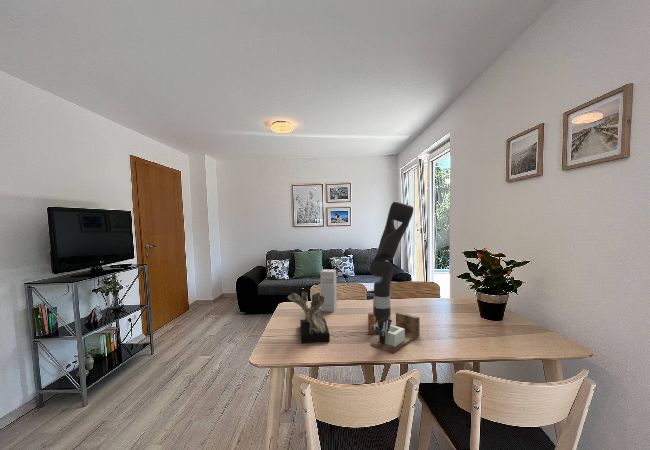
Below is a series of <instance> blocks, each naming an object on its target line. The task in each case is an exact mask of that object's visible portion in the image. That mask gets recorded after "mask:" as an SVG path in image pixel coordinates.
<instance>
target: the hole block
mask: <svg viewBox="0 0 650 450" xmlns="http://www.w3.org/2000/svg"><path fill="white" fill-rule="evenodd" d="M377 339H378V341H379V335H377ZM404 340H405V329H404V328H401V327H397V326H396V325H395V324H394V325H393V324H391V325H390V328H389V331H388V332H386V335H385V344H388V345H391V346H394V347H396V346H397V345H399V344H400V343H402V342H403V341H404Z"/></svg>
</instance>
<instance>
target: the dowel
mask: <svg viewBox="0 0 650 450" xmlns="http://www.w3.org/2000/svg"><path fill="white" fill-rule="evenodd" d="M375 320H376V317H375V316H374V313H373V311H372V312H368V313H367V334H368V335H371V336H375V335H376V333H375V332H374V330H373V328H372V326H375V324H376V323H375Z"/></svg>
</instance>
